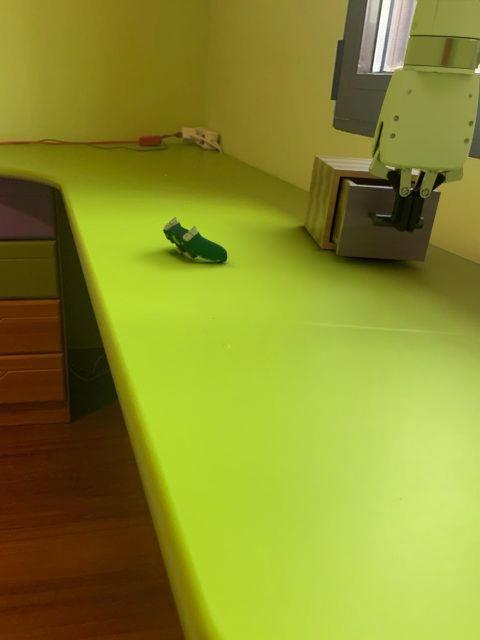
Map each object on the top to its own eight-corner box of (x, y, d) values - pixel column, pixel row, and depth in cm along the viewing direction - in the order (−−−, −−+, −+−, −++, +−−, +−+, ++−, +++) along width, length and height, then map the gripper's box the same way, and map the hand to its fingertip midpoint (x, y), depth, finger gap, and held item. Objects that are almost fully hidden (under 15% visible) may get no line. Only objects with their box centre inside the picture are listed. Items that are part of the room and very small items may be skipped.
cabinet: (410, 254, 98) (428, 175, 93) (321, 248, 98) (334, 168, 93) (381, 231, 112) (396, 160, 107) (303, 225, 112) (314, 155, 107)
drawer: (435, 270, 87) (453, 197, 83) (344, 264, 87) (358, 191, 83) (394, 236, 104) (407, 174, 100) (317, 231, 104) (328, 169, 100)
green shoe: (180, 260, 95) (153, 230, 91) (198, 239, 95) (173, 208, 91) (212, 278, 88) (185, 247, 84) (232, 256, 87) (206, 223, 84)
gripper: (495, 62, 78) (453, 227, 87) (364, 53, 78) (335, 219, 87) (524, 62, 72) (476, 240, 80) (381, 53, 71) (348, 232, 80)
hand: (402, 229), depth 83 cm, fingers closed
